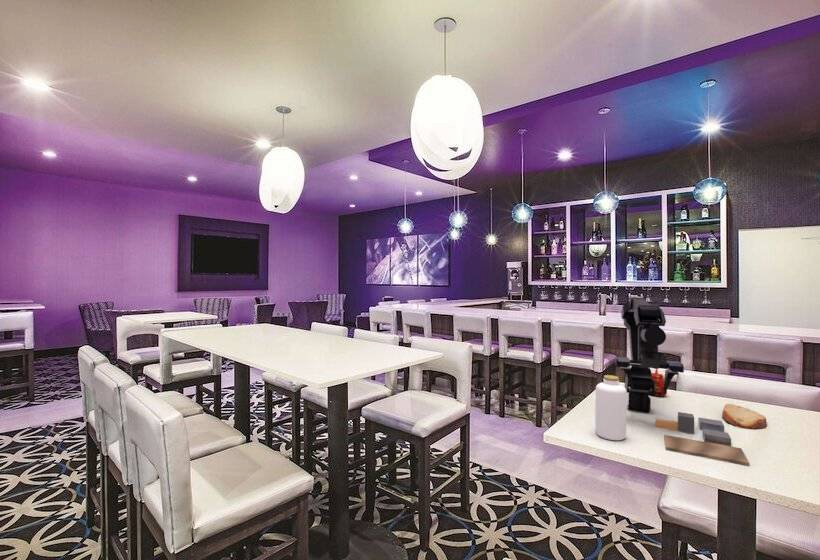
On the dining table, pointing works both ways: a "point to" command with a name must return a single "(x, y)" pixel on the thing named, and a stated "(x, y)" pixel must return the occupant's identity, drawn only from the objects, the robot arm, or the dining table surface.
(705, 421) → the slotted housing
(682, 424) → the plug
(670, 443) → the walnut board
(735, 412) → the slice of bread
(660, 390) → the red clay folk toy
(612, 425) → the potion bottle
